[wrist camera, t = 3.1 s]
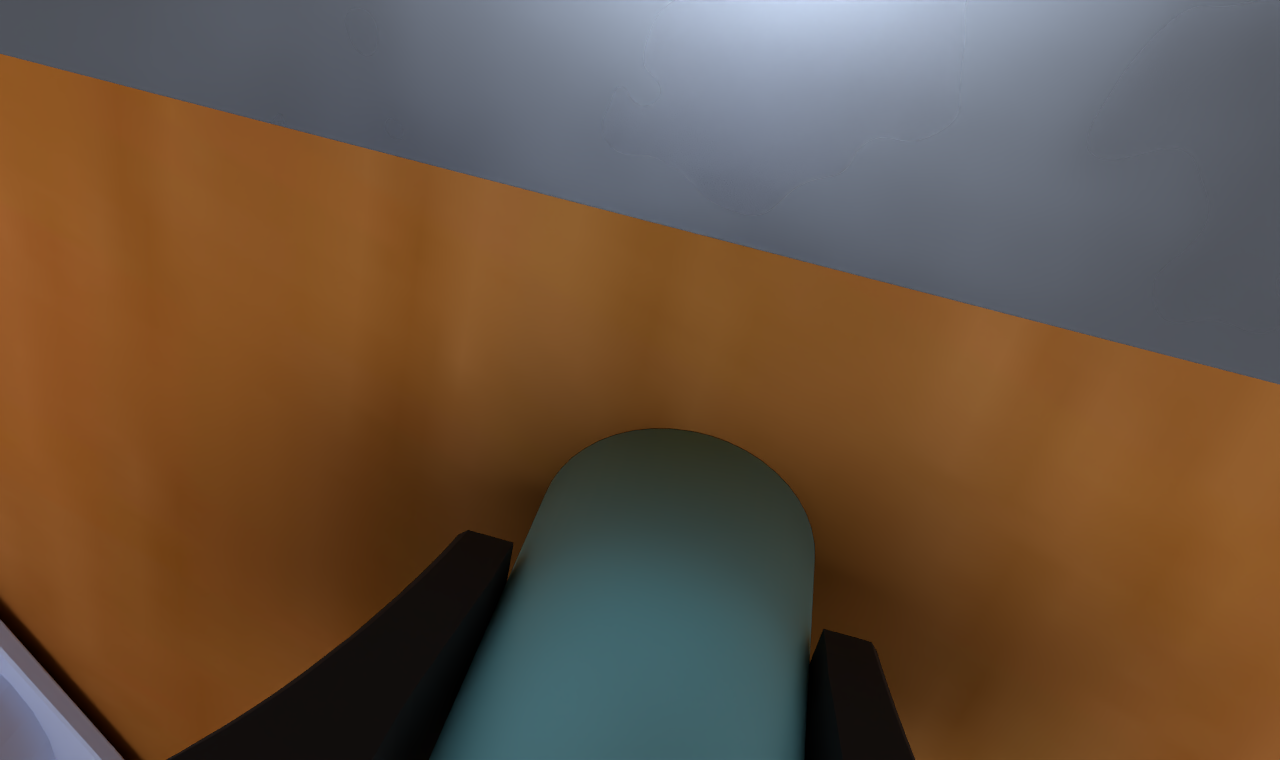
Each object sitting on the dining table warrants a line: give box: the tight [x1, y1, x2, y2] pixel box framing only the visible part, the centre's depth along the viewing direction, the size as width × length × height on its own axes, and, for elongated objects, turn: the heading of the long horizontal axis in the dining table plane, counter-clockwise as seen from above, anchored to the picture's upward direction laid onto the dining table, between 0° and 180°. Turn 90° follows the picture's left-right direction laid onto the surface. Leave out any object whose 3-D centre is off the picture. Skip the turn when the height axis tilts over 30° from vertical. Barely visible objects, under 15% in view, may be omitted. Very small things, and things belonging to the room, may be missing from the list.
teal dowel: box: [429, 429, 815, 760], centre depth 12 cm, size 4×4×6 cm
